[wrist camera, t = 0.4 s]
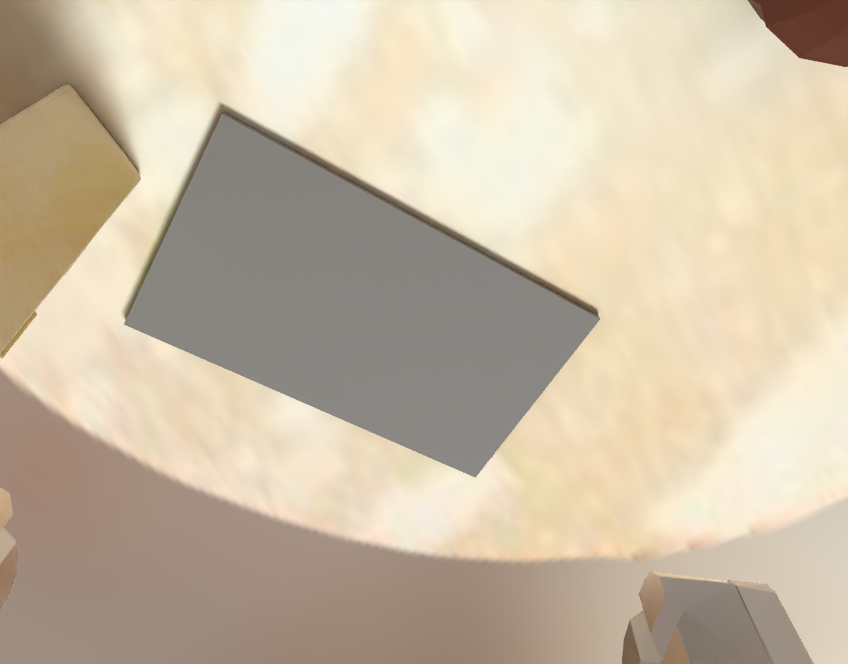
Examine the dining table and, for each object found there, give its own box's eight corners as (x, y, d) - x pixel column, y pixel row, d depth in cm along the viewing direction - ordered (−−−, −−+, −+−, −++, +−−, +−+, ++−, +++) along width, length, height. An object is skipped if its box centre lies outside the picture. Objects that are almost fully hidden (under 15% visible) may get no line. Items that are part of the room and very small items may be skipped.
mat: (126, 320, 51) (124, 324, 50) (223, 111, 45) (221, 113, 44) (474, 473, 59) (475, 477, 59) (598, 315, 53) (600, 319, 52)
